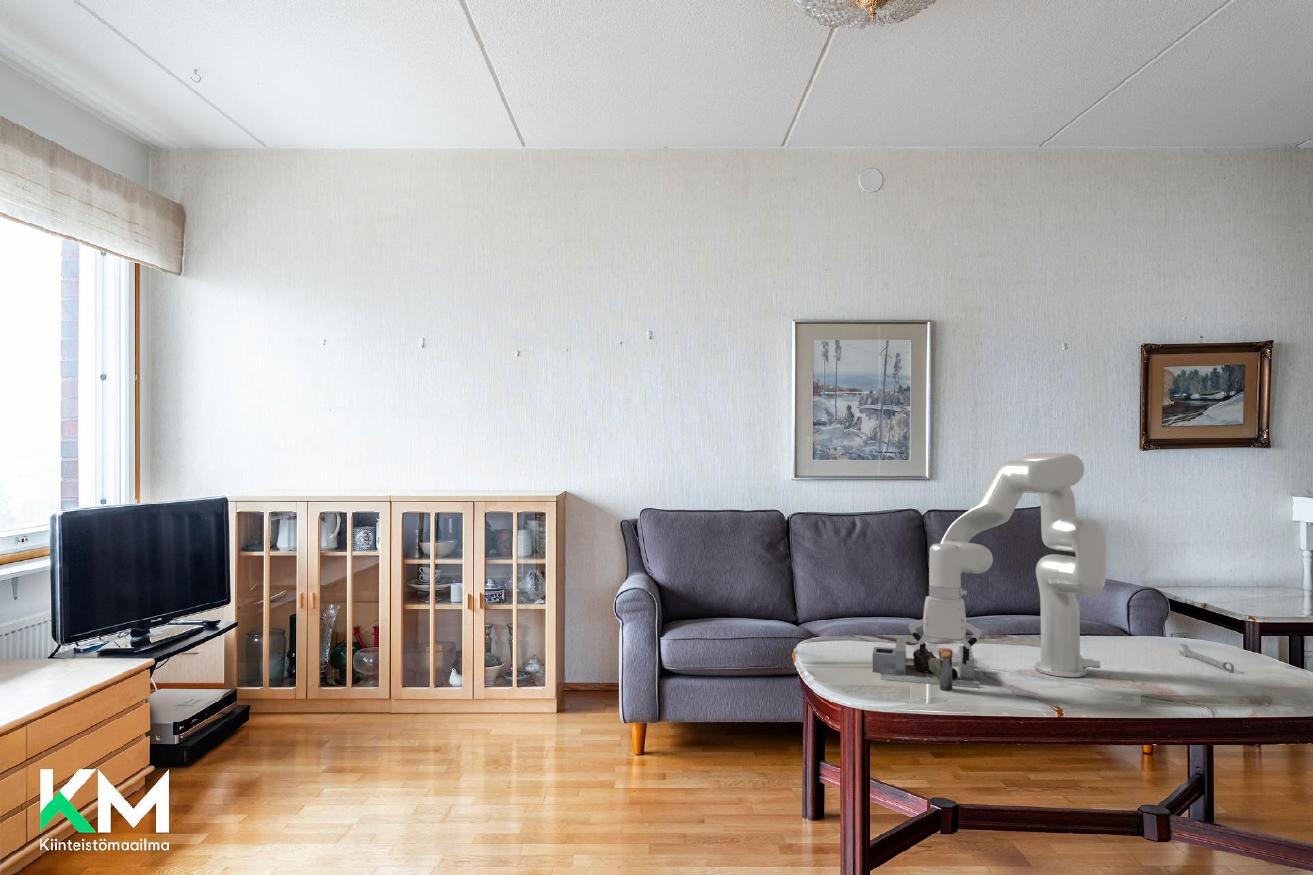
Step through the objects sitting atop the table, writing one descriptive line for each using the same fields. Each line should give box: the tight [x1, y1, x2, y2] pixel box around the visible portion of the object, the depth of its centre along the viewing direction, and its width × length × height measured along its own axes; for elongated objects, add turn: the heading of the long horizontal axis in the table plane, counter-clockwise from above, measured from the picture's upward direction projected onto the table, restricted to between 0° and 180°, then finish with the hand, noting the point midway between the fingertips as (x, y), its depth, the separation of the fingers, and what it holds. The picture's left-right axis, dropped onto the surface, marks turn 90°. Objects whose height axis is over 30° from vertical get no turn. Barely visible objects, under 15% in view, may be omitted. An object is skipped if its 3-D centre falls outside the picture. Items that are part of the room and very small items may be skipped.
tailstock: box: [872, 638, 907, 676], centre depth 215 cm, size 8×14×7 cm, turn 161°
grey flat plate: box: [880, 656, 980, 689], centre depth 212 cm, size 24×20×1 cm
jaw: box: [957, 645, 975, 681], centre depth 209 cm, size 3×14×6 cm, turn 161°
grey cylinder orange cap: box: [938, 647, 954, 692], centre depth 198 cm, size 3×3×10 cm
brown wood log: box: [912, 647, 959, 680], centre depth 212 cm, size 18×7×6 cm, turn 5°
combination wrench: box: [1177, 643, 1235, 673], centre depth 222 cm, size 4×1×20 cm
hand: (944, 661), depth 197 cm, fingers open, 9 cm apart
